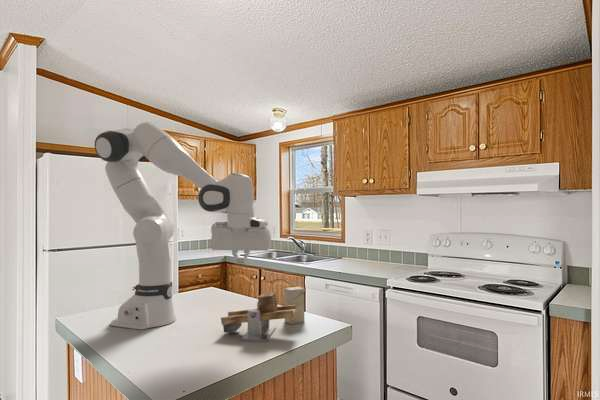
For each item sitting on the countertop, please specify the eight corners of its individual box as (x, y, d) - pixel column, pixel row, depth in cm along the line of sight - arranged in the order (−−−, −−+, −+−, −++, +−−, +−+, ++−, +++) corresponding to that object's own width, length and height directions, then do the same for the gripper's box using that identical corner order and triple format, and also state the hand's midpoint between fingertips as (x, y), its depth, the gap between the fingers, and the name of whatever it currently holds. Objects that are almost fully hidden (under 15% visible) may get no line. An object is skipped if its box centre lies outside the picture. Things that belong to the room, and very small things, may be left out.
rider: (260, 316, 119) (257, 297, 119) (264, 311, 123) (261, 294, 124) (274, 314, 118) (271, 295, 118) (278, 310, 123) (275, 292, 123)
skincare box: (290, 324, 131) (289, 290, 131) (284, 321, 135) (283, 288, 135) (305, 321, 134) (304, 288, 134) (298, 318, 138) (298, 286, 138)
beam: (222, 333, 119) (219, 314, 119) (231, 325, 127) (228, 307, 128) (294, 326, 115) (291, 307, 115) (299, 318, 123) (296, 300, 124)
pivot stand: (241, 340, 115) (240, 311, 116) (253, 327, 128) (253, 300, 128) (265, 342, 114) (265, 312, 114) (275, 328, 127) (275, 301, 127)
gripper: (207, 222, 122) (207, 264, 121) (267, 222, 118) (267, 265, 118) (215, 221, 128) (215, 261, 128) (272, 221, 124) (272, 262, 124)
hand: (241, 263), depth 123 cm, fingers closed
